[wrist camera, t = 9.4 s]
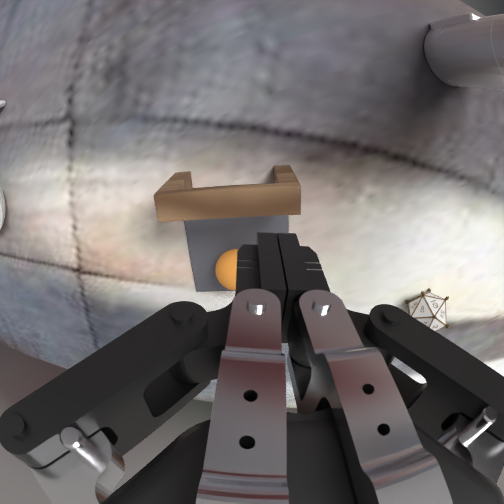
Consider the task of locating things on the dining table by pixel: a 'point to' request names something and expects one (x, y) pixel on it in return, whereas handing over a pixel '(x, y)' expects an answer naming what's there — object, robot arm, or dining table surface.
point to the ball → (227, 269)
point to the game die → (429, 310)
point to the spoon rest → (0, 199)
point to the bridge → (228, 198)
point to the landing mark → (224, 242)
